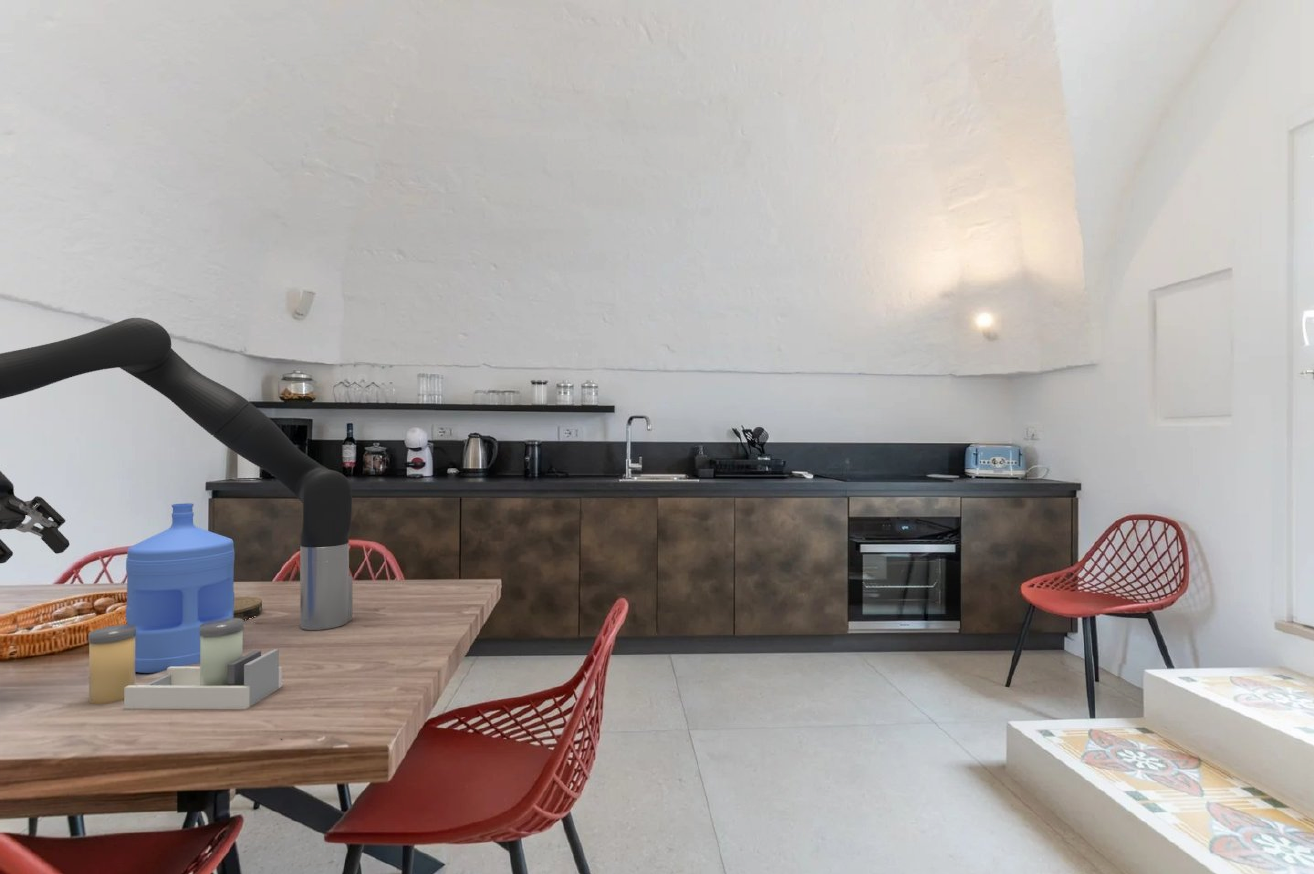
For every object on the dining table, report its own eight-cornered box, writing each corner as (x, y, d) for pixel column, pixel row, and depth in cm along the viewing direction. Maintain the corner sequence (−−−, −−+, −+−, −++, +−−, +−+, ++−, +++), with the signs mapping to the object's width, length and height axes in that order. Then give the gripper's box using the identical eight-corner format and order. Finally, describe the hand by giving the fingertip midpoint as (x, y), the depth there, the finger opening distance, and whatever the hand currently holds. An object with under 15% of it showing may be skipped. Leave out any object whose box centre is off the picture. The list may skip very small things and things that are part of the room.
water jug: (119, 660, 113) (119, 504, 113) (222, 639, 124) (223, 498, 124) (133, 682, 102) (133, 510, 102) (244, 658, 113) (245, 503, 114)
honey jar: (121, 693, 97) (122, 623, 97) (144, 698, 95) (144, 626, 96) (79, 707, 92) (80, 633, 92) (102, 713, 90) (102, 636, 90)
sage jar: (227, 687, 97) (227, 616, 97) (251, 692, 95) (251, 620, 95) (190, 701, 92) (190, 626, 92) (215, 706, 90) (215, 630, 90)
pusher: (227, 704, 91) (227, 664, 91) (254, 688, 97) (254, 650, 97) (239, 704, 91) (239, 664, 91) (266, 688, 97) (266, 650, 97)
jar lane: (124, 715, 90) (124, 666, 90) (170, 691, 98) (170, 647, 98) (245, 715, 89) (245, 666, 89) (281, 692, 98) (281, 647, 98)
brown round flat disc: (218, 608, 149) (218, 595, 149) (278, 610, 147) (278, 597, 147) (155, 627, 133) (155, 613, 133) (222, 630, 131) (222, 616, 131)
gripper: (-76, 461, 87) (4, 544, 87) (28, 459, 102) (97, 530, 101) (-114, 499, 87) (-34, 582, 87) (-4, 491, 102) (64, 562, 101)
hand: (36, 554), depth 94 cm, fingers open, 8 cm apart
